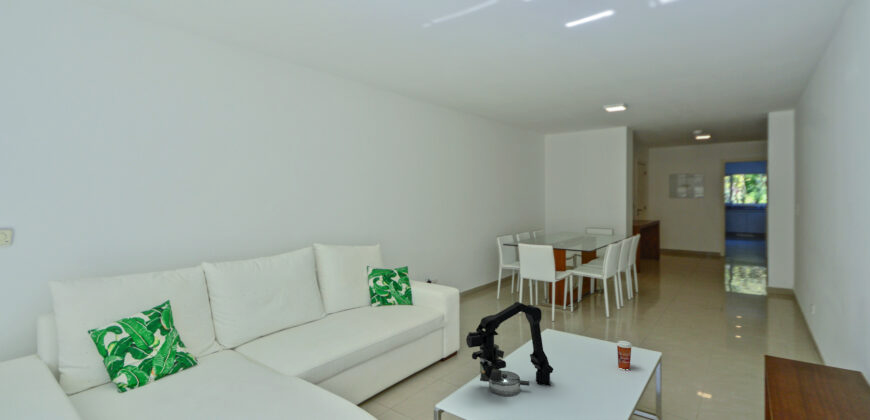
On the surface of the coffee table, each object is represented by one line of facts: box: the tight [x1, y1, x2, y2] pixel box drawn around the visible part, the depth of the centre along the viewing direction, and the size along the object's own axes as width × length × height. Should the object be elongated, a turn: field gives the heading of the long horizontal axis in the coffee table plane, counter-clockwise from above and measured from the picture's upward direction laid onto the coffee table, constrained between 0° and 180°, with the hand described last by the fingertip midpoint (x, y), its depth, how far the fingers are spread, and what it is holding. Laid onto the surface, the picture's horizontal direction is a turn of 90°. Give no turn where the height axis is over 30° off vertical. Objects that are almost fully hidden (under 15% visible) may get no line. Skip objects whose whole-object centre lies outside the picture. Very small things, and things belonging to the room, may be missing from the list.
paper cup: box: [616, 340, 633, 370], centre depth 224 cm, size 8×8×14 cm
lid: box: [480, 369, 521, 385], centre depth 199 cm, size 19×15×5 cm
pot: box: [479, 376, 530, 398], centre depth 200 cm, size 24×15×5 cm, turn 76°
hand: (488, 377), depth 195 cm, fingers closed
